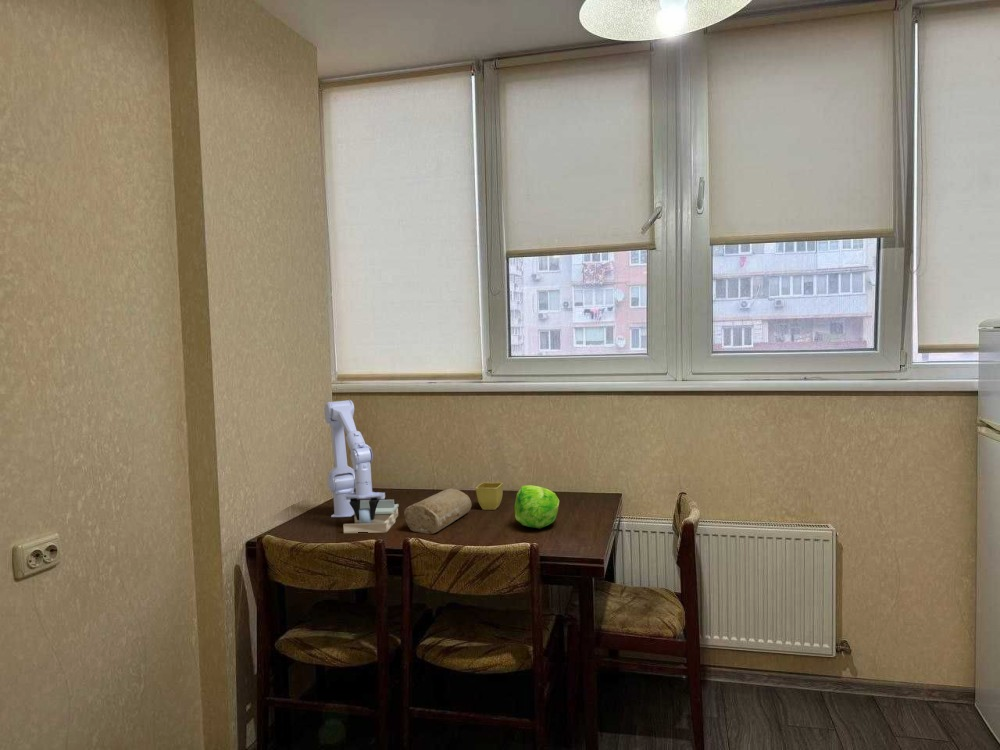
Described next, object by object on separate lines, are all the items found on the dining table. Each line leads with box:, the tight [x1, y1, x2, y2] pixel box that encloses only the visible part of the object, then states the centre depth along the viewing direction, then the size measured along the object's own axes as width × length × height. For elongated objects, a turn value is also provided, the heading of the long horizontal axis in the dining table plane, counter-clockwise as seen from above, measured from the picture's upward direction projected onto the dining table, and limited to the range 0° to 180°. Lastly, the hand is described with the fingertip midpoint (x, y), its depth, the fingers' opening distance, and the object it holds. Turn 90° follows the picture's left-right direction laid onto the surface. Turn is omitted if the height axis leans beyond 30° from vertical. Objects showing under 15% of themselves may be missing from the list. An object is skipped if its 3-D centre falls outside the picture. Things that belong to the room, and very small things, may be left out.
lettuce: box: [514, 484, 560, 530], centre depth 225 cm, size 15×20×14 cm
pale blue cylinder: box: [358, 508, 372, 524], centre depth 234 cm, size 4×4×6 cm
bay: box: [342, 507, 399, 534], centre depth 237 cm, size 20×15×3 cm
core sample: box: [403, 487, 472, 535], centre depth 235 cm, size 14×26×10 cm, turn 158°
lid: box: [354, 499, 399, 515], centre depth 244 cm, size 10×14×4 cm
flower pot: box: [474, 482, 504, 511], centre depth 251 cm, size 9×9×9 cm
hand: (365, 519), depth 234 cm, fingers open, 4 cm apart
